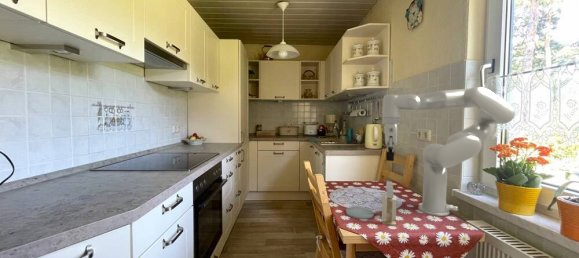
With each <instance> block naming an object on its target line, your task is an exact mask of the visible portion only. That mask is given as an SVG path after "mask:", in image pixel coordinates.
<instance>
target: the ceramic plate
mask: <svg viewBox="0 0 579 258" xmlns="http://www.w3.org/2000/svg"><path fill="white" fill-rule="evenodd" d="M345 214H346V215H347V216H348V217H350V218H353V219H358V220H370V219H373V218H374V217H375V212H374V211H373V210H372V209H371V208H367V207H364V206H349V207H347V208H346V209H345Z"/></svg>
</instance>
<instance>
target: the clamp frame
mask: <svg viewBox="0 0 579 258" xmlns="http://www.w3.org/2000/svg"><path fill="white" fill-rule="evenodd" d="M385 195H387V193H386V194H385ZM392 203H393V199H392V198H387V216H386V220H383V219H381V221H382V222H381V223H382V225H385V226H391V227H397V223H396V221H392Z"/></svg>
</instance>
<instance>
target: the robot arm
mask: <svg viewBox="0 0 579 258" xmlns="http://www.w3.org/2000/svg"><path fill="white" fill-rule="evenodd" d="M382 105H383V106H382V107H383V108H382V109H383V110H382V125H384V140H385V142H384V143H385V145H386V151H385V152H386V154H385V158H386V161H389V162H394V160H395V158H394V157H395V152H394V151H395V150H394V147H397V146H398V125H400V123H401V122H400V121H401V111H404V112H411V111H420V110H421V111H425V110H435V111H436V110H437V111H439V110H440V111H441V110H450V109H451V110H452V109H454V110H455V109H466V108H467V109H468V108H478V111H477V113H476V118H475V119H476V120H475V122H474V123H473V124H472V125H470V126H468V127H466V128H464V129H463V130H460V131H459V132H456V133H453V134H452V135H450V136H448V138H447V140H446V142H445V143H446V144H440V143H435V142H434V143H430V144H427V145H426V146H425V148H424V149H423V152H422V159H423V160H422V161H423V180H422V181H423V182H422V183H423V185H422V204H420V205H418V210H419V211H420V212H422V213H425V214H427V215H430V216H438V217H446V216H449V215H450V211H455V212H458V211H459V208H458V206H456V205H454V204H448V203H447V187H448V186H447V185H448V183H447V182H448V169H449V168H451V167H455V166H457V165H459V164H461V163H464V162H466V161H467V160H470V159H471V158H473V157H475V156H477V155H478V154H479V153H480V152H481V150H482V147H483V144H482V143H484V142H486V141H487V140H489V139H491V137H492V136H493V134H494V132H495V128H496V124H497V125H504V124H507V123H511V121H512V120H513V119H514V118H515V115H516V111H515V109H514V107H513V106H512V105H511V104H510V103H509V102H508V101H506V100H504V99H503V98H501V97H500V96H499V95H498V94H496V93H494V92H493V91H491V90H490V89H488V88H486V87H483V86H477V87H470V88H461V89H449V90H448V89H447V90H445V89H444V90H439V91H433V92H427V93H422V94H413V93H409V94H386V95H384V96H383V101H382ZM447 168H448V169H447Z"/></svg>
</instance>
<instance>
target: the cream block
mask: <svg viewBox="0 0 579 258" xmlns="http://www.w3.org/2000/svg"><path fill="white" fill-rule="evenodd" d="M392 199H393V203H392V221H395V222H396V221H397V220H396V219H397V200H398V199H397V196H395V195H393V198H392ZM381 200H382V201H381V204H382V205H381V220H386V216H387V195H386V194H382V199H381Z"/></svg>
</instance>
